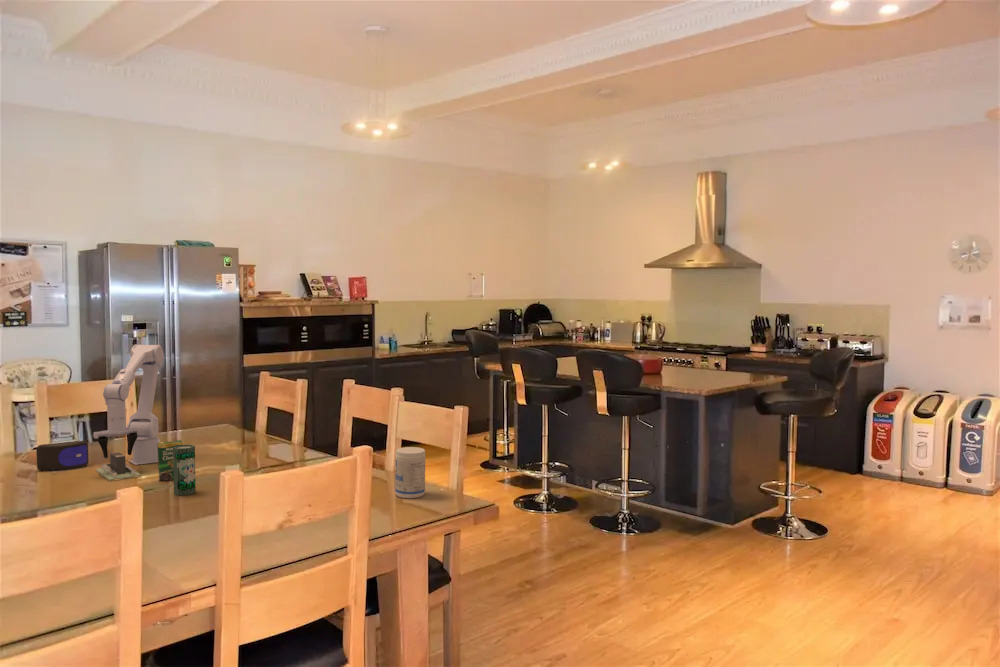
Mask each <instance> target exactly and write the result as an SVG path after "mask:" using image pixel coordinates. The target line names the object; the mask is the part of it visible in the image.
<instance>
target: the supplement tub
mask: <svg viewBox="0 0 1000 667" xmlns="http://www.w3.org/2000/svg"><path fill="white" fill-rule="evenodd" d="M394 468H395V469H394V471H395V472H394V474H395V475H394V479H395V480H394V492H395V495H396V496H397V497H399V498H403V499H416V498H420V497H421V498H422V497H423V496H424V495H425V493H426V492H425V491H426V450H425V449H424V448H422V447H419V446H417V447H415V446H405V447H398V448H397V449H396V451H395V466H394Z"/></svg>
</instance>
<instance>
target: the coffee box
mask: <svg viewBox="0 0 1000 667" xmlns="http://www.w3.org/2000/svg"><path fill="white" fill-rule="evenodd" d="M179 445H183V440H181V439H180V440H174V441H171V440H170V441H162V442H161V441H160V442H159V443H157V447H158V462H157V463H158V479H159V482H162V481H161V480H166V481H174V480H173V479H174V466H173V447H175V446H179Z"/></svg>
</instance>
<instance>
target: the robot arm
mask: <svg viewBox="0 0 1000 667" xmlns="http://www.w3.org/2000/svg"><path fill="white" fill-rule="evenodd" d="M163 362H164V349H163V347H162V346H161V344H138V343H137V344H136V343H135V344H134V345H133V346H132V347H131V349H130V359H129V361H128V362H127V365H126V367H125V368H123V369H120V370H119V372H117V374H116V376H115V377H114V378H113V380H112V382H111V383H108V384H107V385H105V386H104V388H103V392H102V396H103V398H104V402H105V405H106V410H107V411H106V412H107V416H106V417H107V429H106V430H101V431H100V430H99V431H94V432H93V438H94V439H96V441H97V443H98V444H99V446H100V448H101V451H102V454H103V458H105V459H108V457H109V456H108V455H109V454H108V452H109V451H108V442H109V440H108V439H107V438H109V437H117V436H125V435H126V441H127V449H126V450H127V451H126V453H127V455H129V456H132V459H129V462H130V463H131V464H133V465H134V466H139V464H140V465H145V464H154V463H158V447H157V443H159V442H161V440H160V437H158V436H157V435H158V434H159V431H160V430H159V429H160V428H159V427H160V426H159V418H158V417H157V416H156V415H155V414H154V413H153V408H154V403H155V402H154V401H155V395H156V388H157V382H158V374H159V369H161V368H162V366H163ZM139 369H142V372H143V373H142V378H141V384H140V390H139V391H140V393H139V397H138V403H137V410H136V412H134V413H133V414H132V415H131V416H129V420H128V422H127V416H126V412H127V411H126V410H127V409H126V408H127V407H126V400H127V399H128V397H129V394H130V390H131V386H132V384H133V383H134V381H135V380H136V372H137V371H138V370H139Z"/></svg>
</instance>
